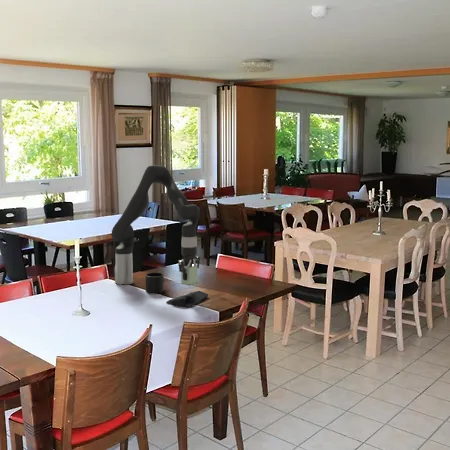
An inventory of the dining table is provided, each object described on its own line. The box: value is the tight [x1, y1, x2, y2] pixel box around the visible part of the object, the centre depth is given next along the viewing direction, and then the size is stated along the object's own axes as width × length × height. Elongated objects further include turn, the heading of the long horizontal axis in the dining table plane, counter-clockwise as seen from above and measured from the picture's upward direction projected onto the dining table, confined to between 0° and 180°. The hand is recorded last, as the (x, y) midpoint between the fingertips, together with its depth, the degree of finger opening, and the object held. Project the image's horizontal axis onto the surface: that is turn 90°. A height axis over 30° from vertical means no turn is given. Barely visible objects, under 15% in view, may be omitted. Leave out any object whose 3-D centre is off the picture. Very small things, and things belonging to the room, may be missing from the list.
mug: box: [144, 272, 165, 294], centre depth 296 cm, size 9×12×9 cm
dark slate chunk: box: [166, 290, 209, 309], centre depth 279 cm, size 15×22×5 cm
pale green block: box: [180, 264, 198, 287], centre depth 276 cm, size 6×6×9 cm
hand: (189, 278), depth 276 cm, fingers closed on pale green block, 5 cm apart
